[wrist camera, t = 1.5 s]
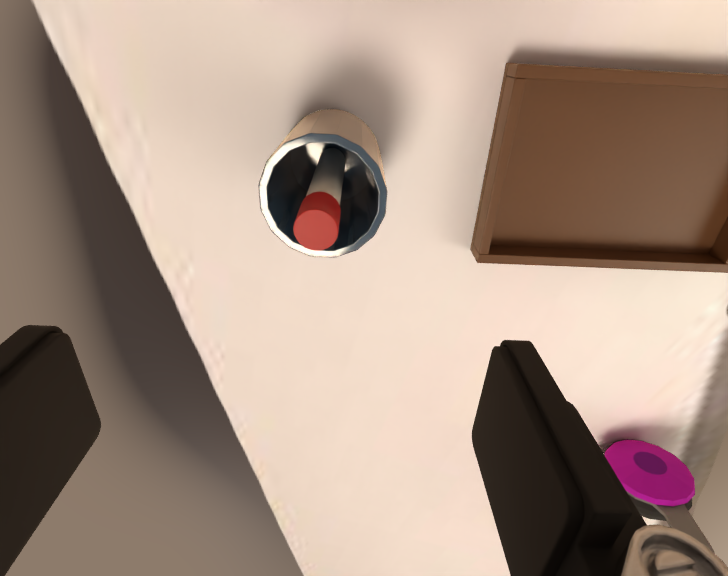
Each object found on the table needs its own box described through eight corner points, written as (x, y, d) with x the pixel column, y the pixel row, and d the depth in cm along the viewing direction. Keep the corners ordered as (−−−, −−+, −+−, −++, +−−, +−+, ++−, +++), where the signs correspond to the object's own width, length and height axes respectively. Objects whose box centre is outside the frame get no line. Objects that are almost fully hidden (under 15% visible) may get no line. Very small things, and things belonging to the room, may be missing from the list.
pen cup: (283, 106, 31) (253, 130, 23) (383, 111, 31) (391, 137, 23) (287, 202, 35) (263, 255, 26) (376, 206, 35) (381, 259, 26)
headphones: (622, 531, 59) (730, 731, 42) (559, 533, 60) (641, 734, 42) (667, 429, 49) (834, 640, 32) (591, 433, 49) (716, 644, 32)
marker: (318, 145, 32) (292, 208, 20) (346, 147, 32) (338, 210, 20) (318, 174, 33) (293, 250, 21) (346, 175, 33) (338, 251, 21)
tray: (506, 62, 30) (517, 64, 28) (800, 78, 30) (835, 81, 28) (470, 249, 37) (477, 262, 35) (707, 259, 38) (730, 272, 36)
